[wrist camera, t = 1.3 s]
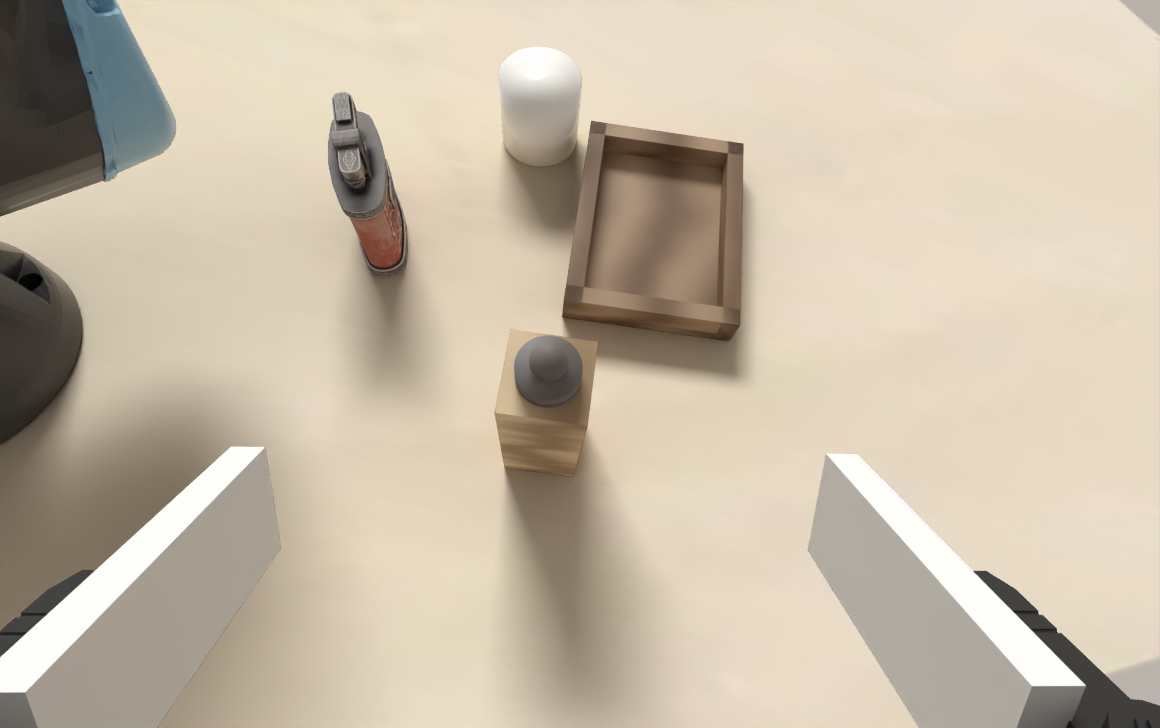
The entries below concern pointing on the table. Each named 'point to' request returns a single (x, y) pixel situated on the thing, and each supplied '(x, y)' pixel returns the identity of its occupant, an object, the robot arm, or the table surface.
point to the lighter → (366, 187)
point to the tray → (658, 233)
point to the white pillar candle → (540, 105)
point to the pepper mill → (544, 401)
